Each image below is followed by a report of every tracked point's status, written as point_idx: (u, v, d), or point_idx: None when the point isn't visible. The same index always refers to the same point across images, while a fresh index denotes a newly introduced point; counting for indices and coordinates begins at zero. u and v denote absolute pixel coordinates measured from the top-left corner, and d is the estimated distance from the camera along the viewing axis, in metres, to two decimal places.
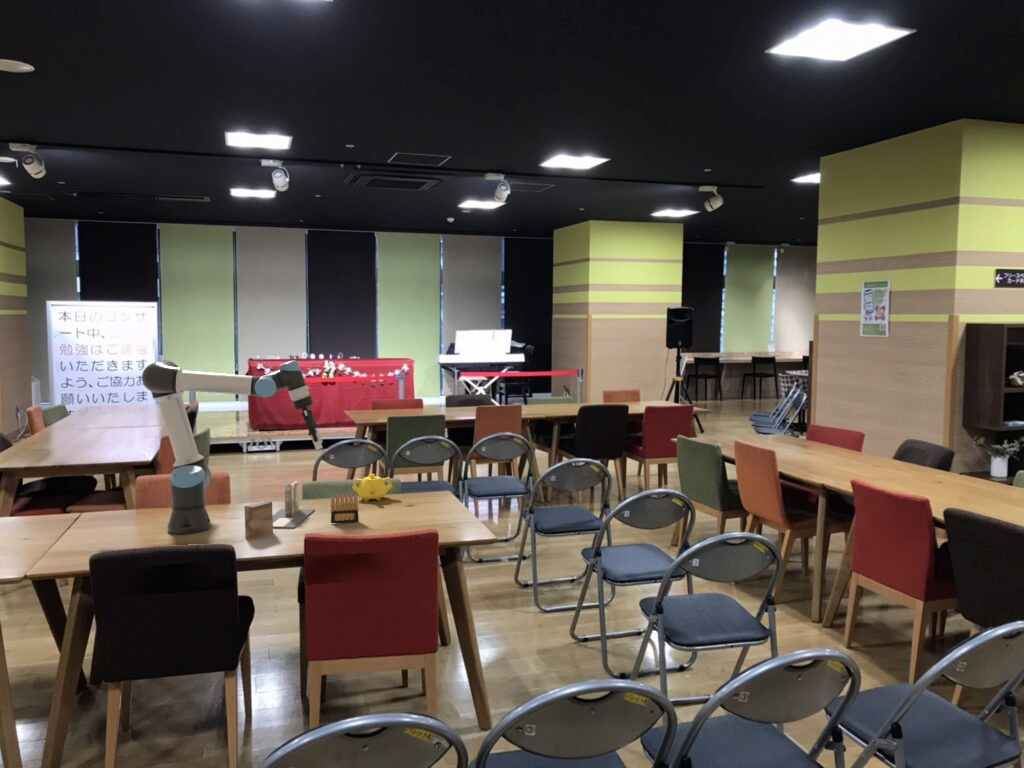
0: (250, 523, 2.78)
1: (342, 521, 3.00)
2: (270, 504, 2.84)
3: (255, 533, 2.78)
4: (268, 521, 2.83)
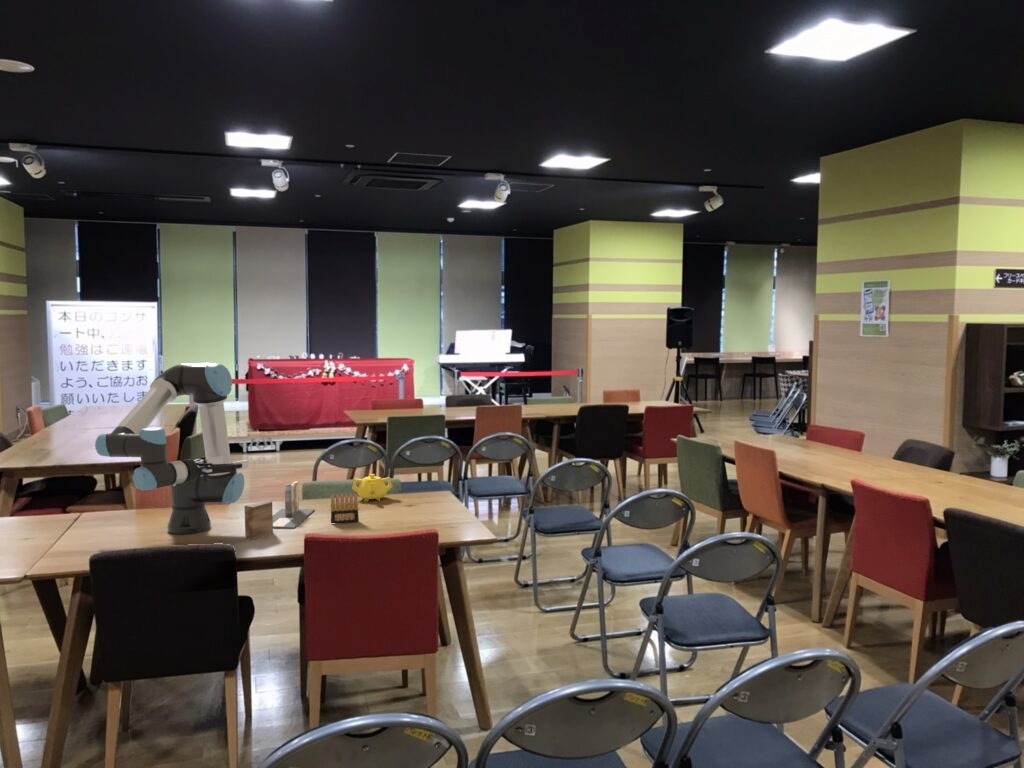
0: (250, 523, 2.78)
1: (342, 521, 3.00)
2: (270, 504, 2.84)
3: (255, 533, 2.78)
4: (268, 521, 2.83)
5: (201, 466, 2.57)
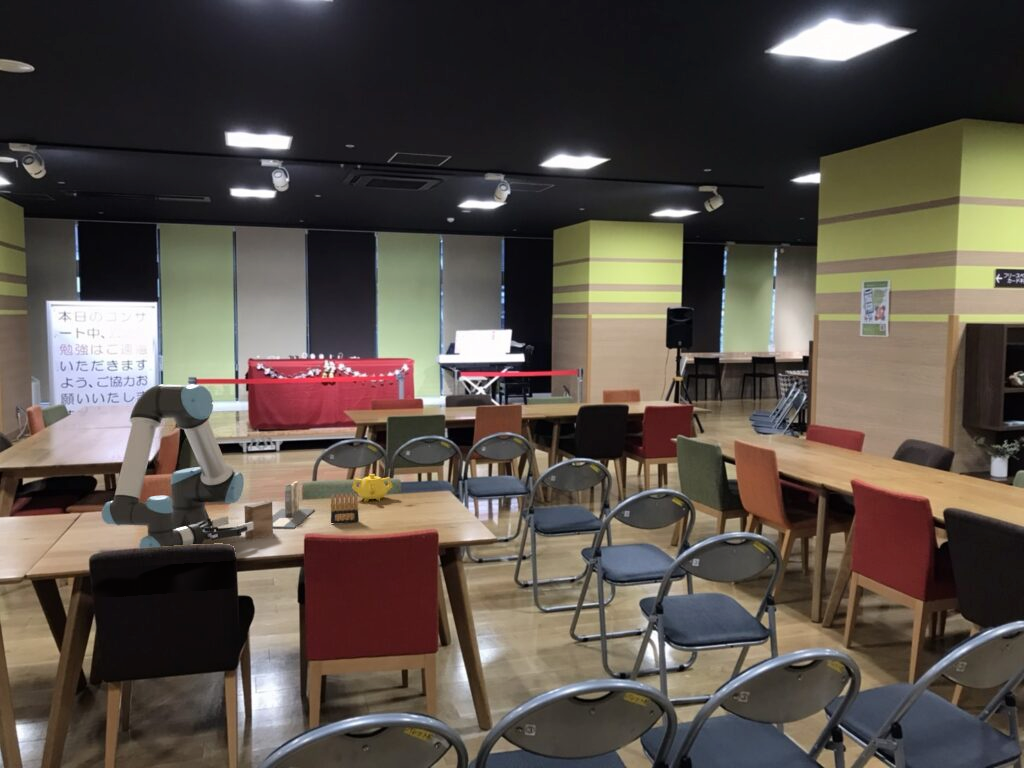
0: None
1: (342, 521, 3.00)
2: (270, 504, 2.84)
3: (255, 533, 2.78)
4: (268, 521, 2.83)
5: (207, 531, 2.60)
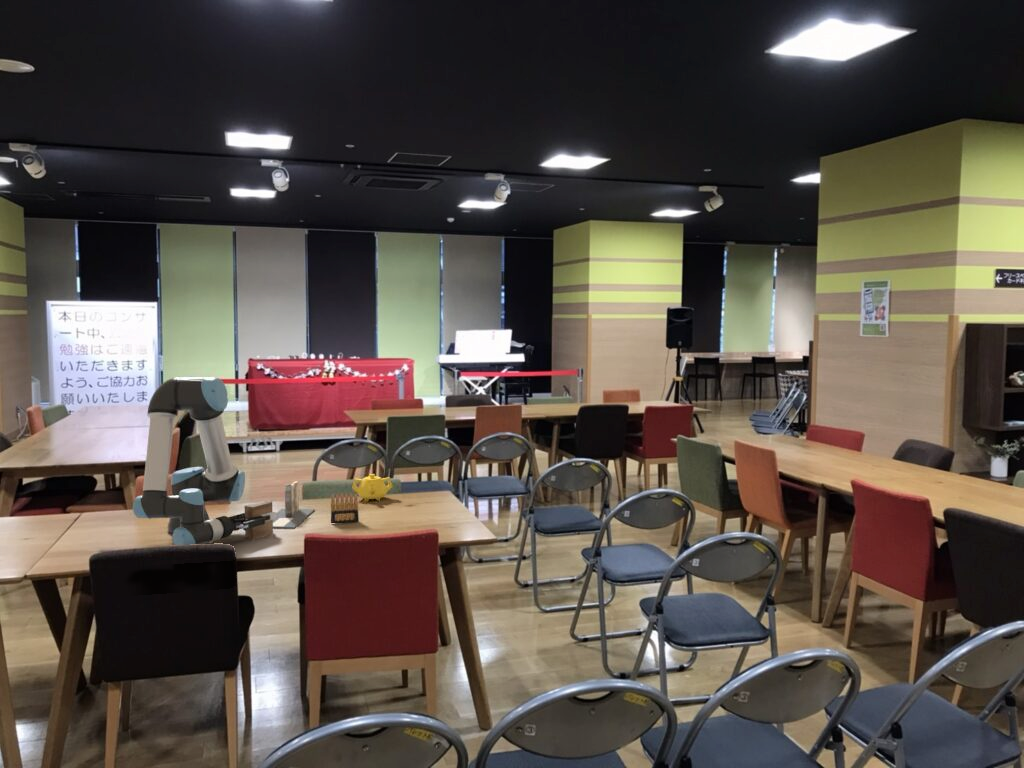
0: None
1: (342, 521, 3.00)
2: (270, 504, 2.84)
3: (255, 533, 2.78)
4: (268, 521, 2.83)
5: (235, 523, 2.70)
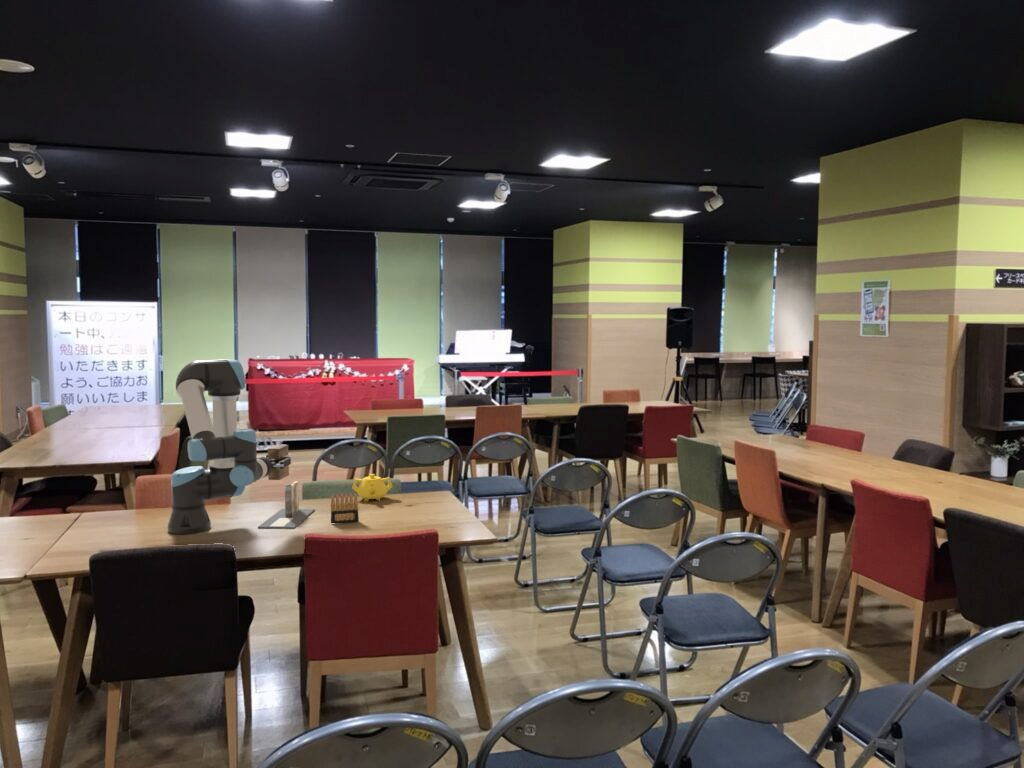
0: None
1: (342, 521, 3.00)
2: (287, 447, 2.97)
3: (280, 474, 2.91)
4: None
5: (272, 462, 2.82)
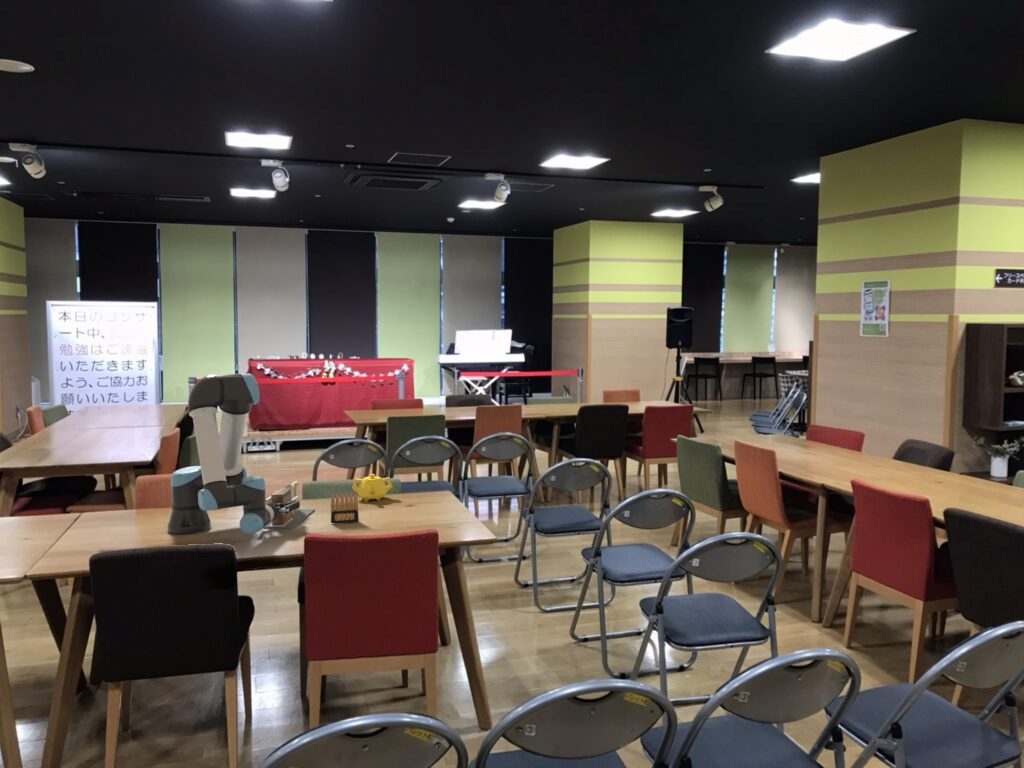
0: None
1: (342, 521, 3.00)
2: (289, 491, 3.02)
3: (284, 519, 2.95)
4: None
5: (277, 507, 2.86)
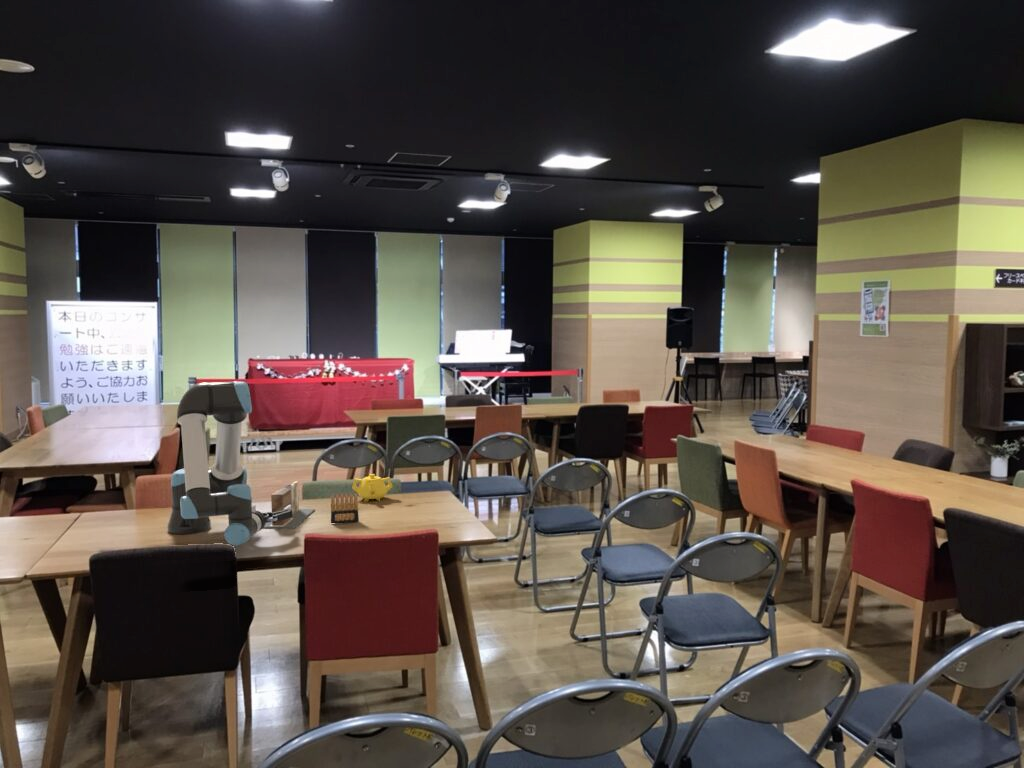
0: (279, 510, 2.94)
1: (342, 521, 3.00)
2: (289, 491, 3.02)
3: None
4: None
5: (264, 516, 2.73)
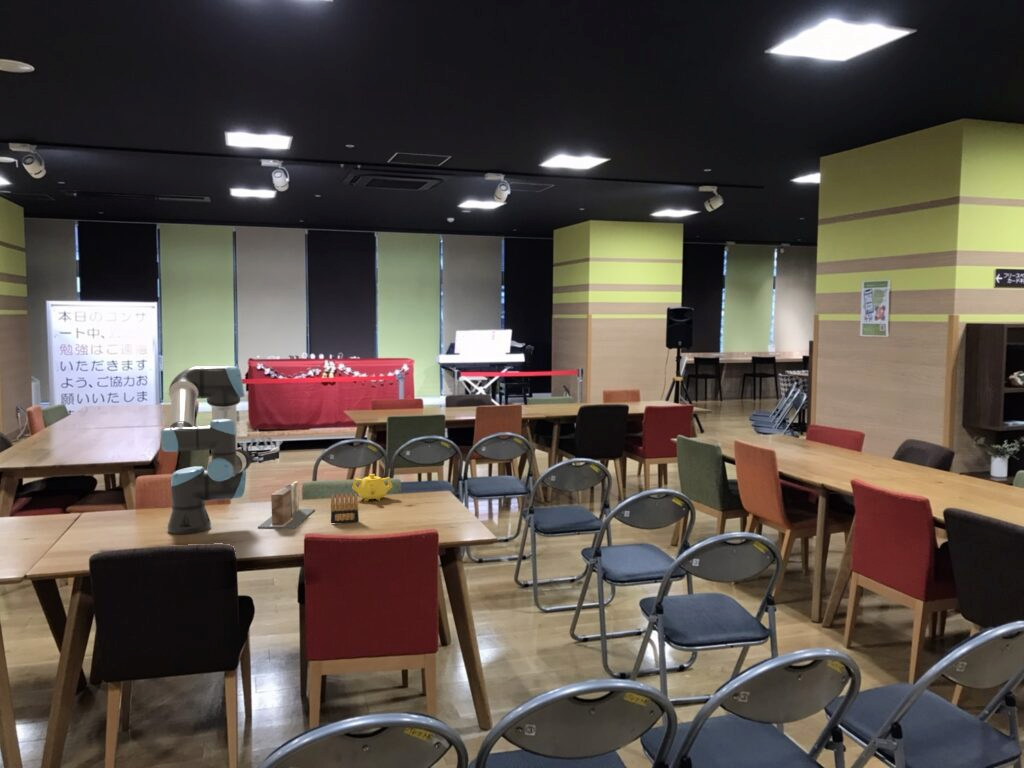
0: (279, 510, 2.94)
1: (342, 521, 3.00)
2: (289, 491, 3.02)
3: (284, 519, 2.95)
4: (288, 507, 3.01)
5: (250, 455, 2.63)
